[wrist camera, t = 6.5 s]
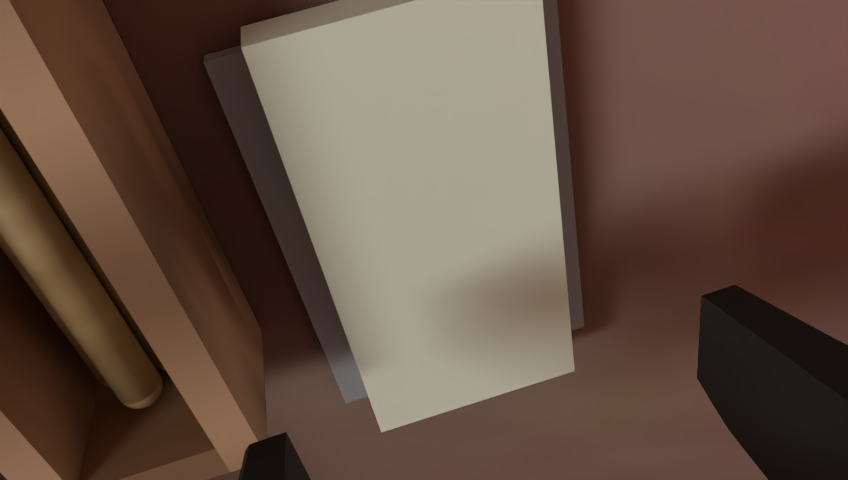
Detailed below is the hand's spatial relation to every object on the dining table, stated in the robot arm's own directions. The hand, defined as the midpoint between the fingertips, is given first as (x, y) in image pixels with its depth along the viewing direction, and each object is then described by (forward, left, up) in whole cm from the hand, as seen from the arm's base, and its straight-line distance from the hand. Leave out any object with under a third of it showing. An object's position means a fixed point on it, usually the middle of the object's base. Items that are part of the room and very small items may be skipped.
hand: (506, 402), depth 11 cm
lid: (0, 0, -6) cm, 6 cm away
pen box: (+3, +7, -6) cm, 10 cm away
